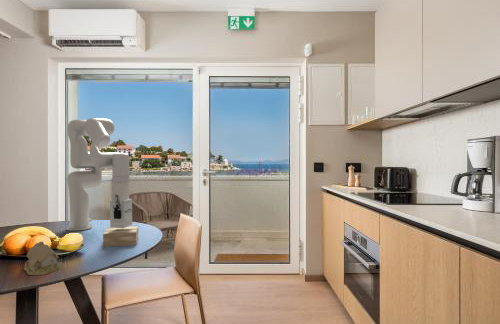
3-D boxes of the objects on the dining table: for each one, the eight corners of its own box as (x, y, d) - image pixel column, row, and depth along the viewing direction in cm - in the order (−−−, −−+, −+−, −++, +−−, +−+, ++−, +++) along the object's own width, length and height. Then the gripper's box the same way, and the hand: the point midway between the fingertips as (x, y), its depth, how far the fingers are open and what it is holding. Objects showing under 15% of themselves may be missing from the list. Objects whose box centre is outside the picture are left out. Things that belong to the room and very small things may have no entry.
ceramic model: (67, 268, 127) (67, 241, 127) (34, 278, 118) (34, 248, 117) (47, 262, 135) (46, 236, 135) (14, 270, 125) (14, 242, 125)
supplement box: (124, 228, 161) (124, 200, 160) (109, 227, 162) (109, 200, 162) (132, 225, 168) (132, 198, 167) (118, 224, 169) (118, 198, 169)
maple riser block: (108, 239, 170) (107, 227, 170) (138, 238, 173) (138, 226, 173) (103, 247, 156) (103, 234, 156) (136, 245, 160) (136, 232, 160)
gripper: (120, 178, 173) (120, 213, 174) (104, 181, 156) (105, 220, 156) (135, 178, 173) (135, 213, 173) (121, 181, 155) (121, 220, 156)
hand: (121, 216), depth 165 cm, fingers closed on supplement box, 8 cm apart
